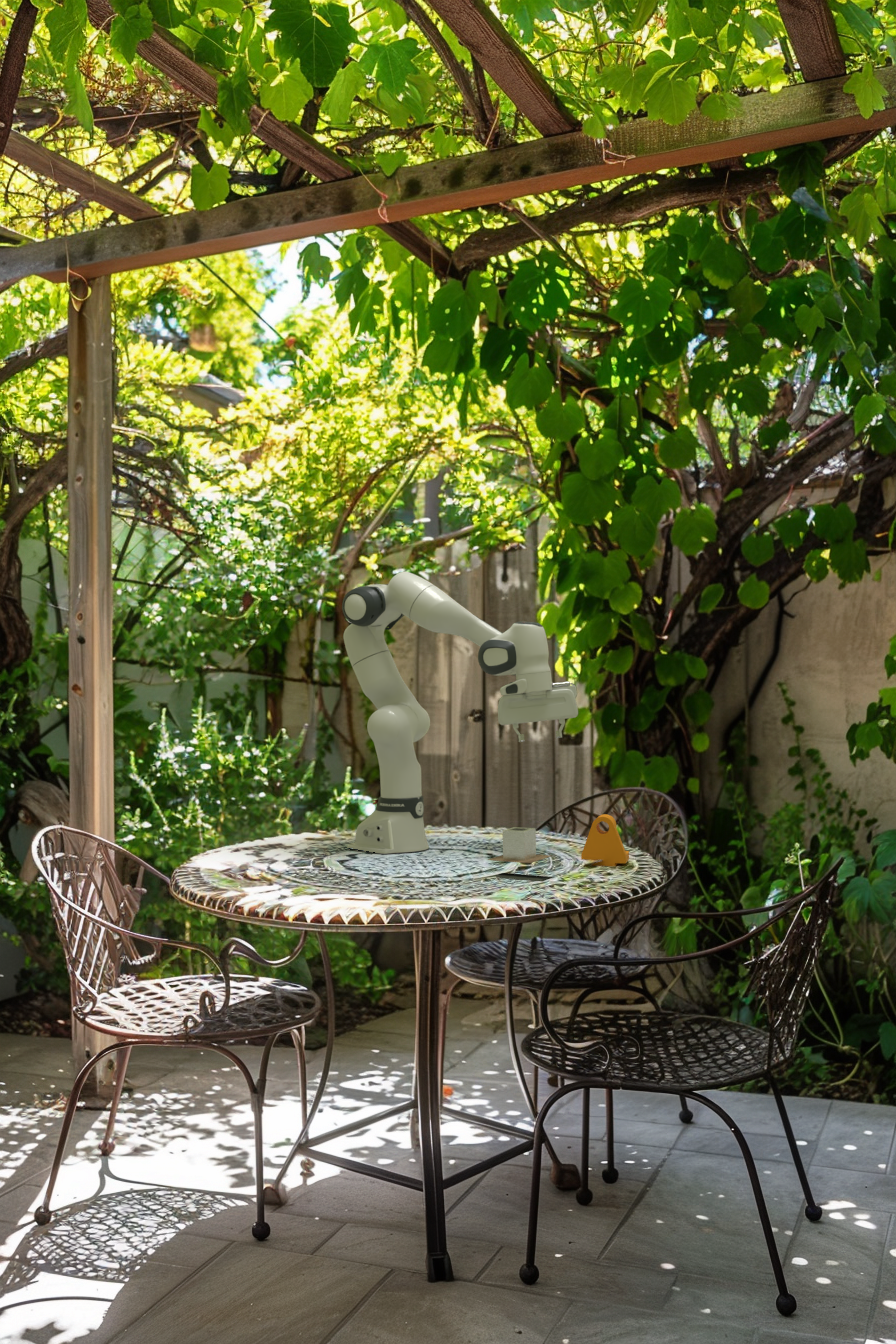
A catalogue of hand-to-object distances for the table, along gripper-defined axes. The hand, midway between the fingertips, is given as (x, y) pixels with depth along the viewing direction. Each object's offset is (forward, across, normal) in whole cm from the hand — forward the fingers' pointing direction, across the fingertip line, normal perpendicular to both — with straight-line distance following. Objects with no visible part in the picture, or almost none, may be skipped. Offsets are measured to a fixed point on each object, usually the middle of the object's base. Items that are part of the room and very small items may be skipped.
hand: (540, 739), depth 312 cm
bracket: (+32, -12, +7) cm, 35 cm away
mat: (+30, +6, +22) cm, 38 cm away
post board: (+30, +8, +6) cm, 31 cm away
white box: (+28, +8, +6) cm, 30 cm away
